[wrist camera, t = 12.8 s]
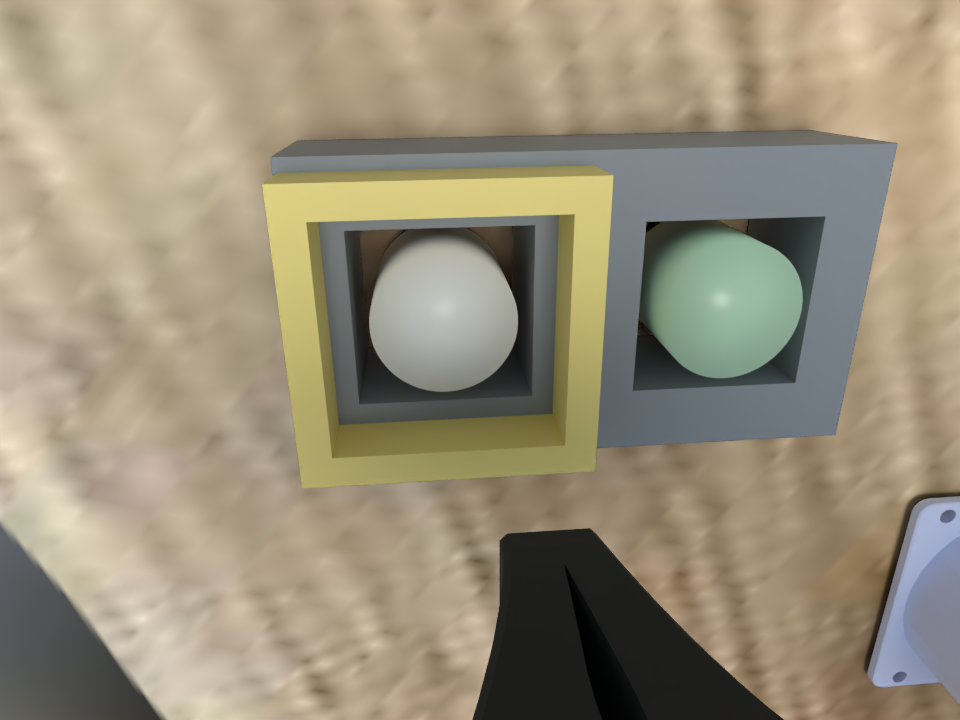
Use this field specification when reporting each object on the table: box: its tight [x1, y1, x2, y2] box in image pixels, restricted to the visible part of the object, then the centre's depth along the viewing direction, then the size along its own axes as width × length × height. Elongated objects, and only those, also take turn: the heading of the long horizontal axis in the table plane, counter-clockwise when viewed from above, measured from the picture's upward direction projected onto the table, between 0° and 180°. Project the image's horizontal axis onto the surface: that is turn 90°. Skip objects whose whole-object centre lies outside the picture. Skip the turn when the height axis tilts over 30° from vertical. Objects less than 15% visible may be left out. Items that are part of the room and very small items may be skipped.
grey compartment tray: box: [262, 130, 897, 488], centre depth 16 cm, size 7×13×5 cm, turn 91°
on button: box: [639, 220, 803, 378], centre depth 17 cm, size 3×3×3 cm
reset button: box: [369, 227, 518, 392], centre depth 16 cm, size 3×3×3 cm
